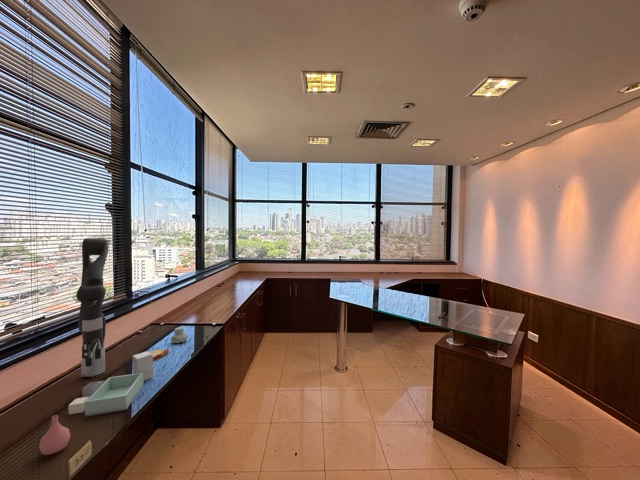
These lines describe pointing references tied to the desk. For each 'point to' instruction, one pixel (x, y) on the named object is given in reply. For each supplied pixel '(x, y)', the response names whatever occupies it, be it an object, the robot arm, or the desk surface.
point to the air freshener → (179, 335)
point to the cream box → (77, 405)
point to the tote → (114, 394)
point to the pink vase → (54, 438)
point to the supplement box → (143, 364)
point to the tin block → (91, 388)
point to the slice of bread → (158, 353)
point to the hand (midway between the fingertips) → (93, 362)
